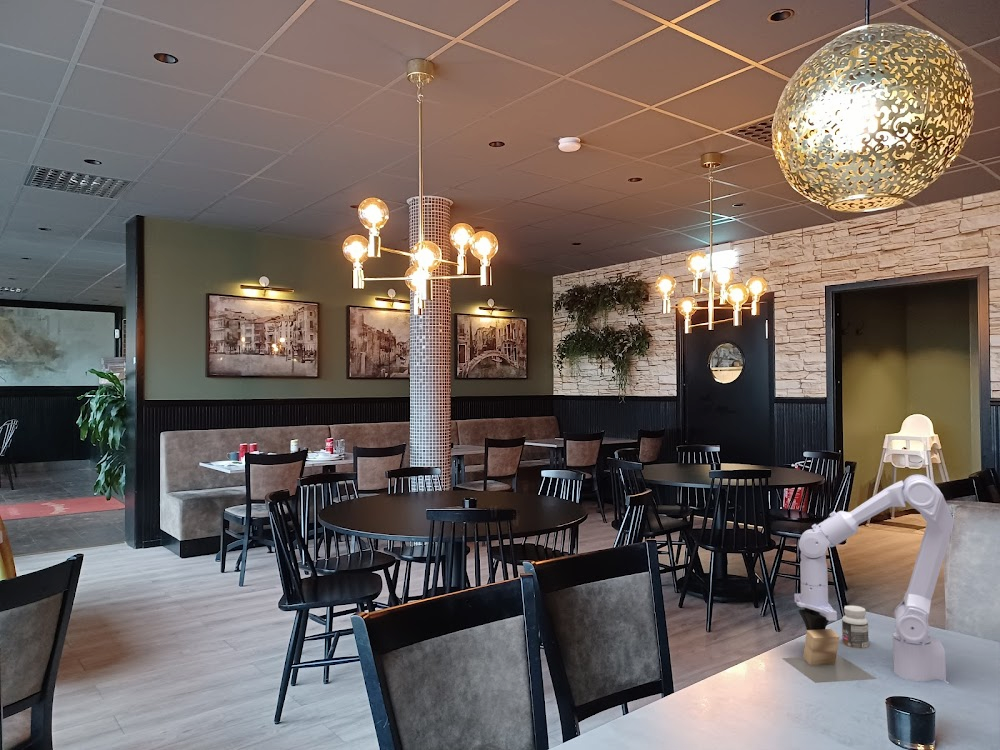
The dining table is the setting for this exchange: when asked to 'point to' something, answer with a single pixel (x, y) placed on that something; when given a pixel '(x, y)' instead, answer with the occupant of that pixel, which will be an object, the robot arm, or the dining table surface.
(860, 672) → the board
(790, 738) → the dining table surface
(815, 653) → the block
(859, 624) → the pill bottle
